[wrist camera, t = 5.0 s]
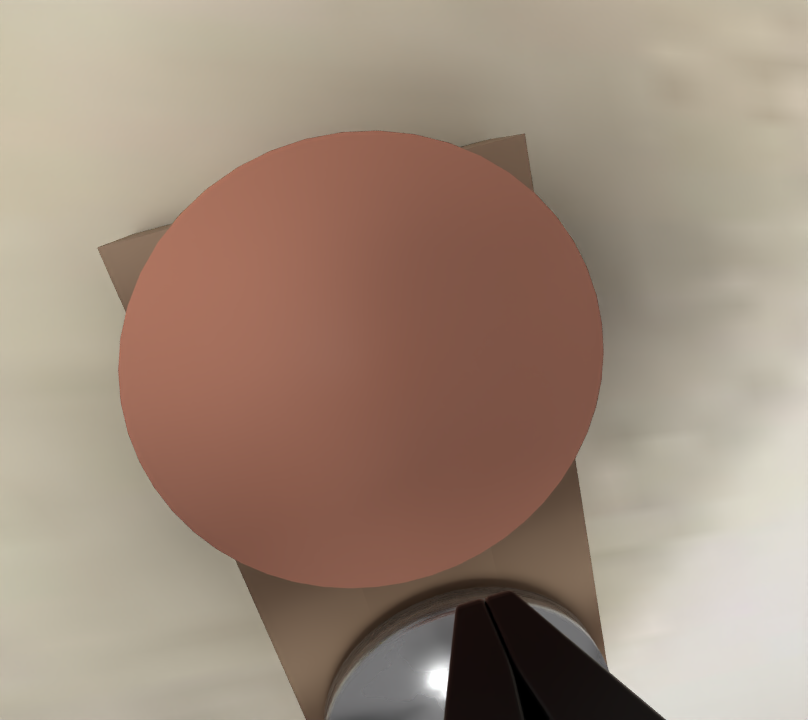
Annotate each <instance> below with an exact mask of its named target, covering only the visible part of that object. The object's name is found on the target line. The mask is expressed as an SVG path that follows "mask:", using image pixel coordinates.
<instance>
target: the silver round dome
mask: <svg viewBox="0 0 808 720" xmlns="http://www.w3.org/2000/svg"><path fill="white" fill-rule="evenodd" d="M508 590H509V591H513V592H514V593H515V594H517V595H518V596H519V597H520V598H522V599H523V600H524V601H525V602H526V603H527V604H529V605H530V606H531V607H532V608H533V609H535V610H536V611H537V612H538V613H539V614H541V615H542V616H543V617H544V618H545V619H547V620H548V621H549V622H550V623H551V624H552V625H554V626H555V627H556V628H557V629H558V630H560V631H561V632H562V633H563V634H564V635H566V636H567V637H568V638H569V639H570V640H572V641H573V642H574V643H575V644H576V645H577V646H579V647H580V648H581V649H582V650H583V651H585V652H586V653H587V654H588V655H589V656H591V657H592V658H593V659H594V660H595V661H597V662H598V663H599V664H600V665H601V666H602V667H604V668H605V669H606V670H607V671H608V672H609V670H608V667H607V665H606V662H605V660H604V658H603V656H602V654H601V652H600V651H599V649H598V648H597V646H596V644H595V643H594V641H593V639H592V638H591V636H590V634H589V633H588V631H587V630H586V629H585V627H584V626H583V624H582V623H581V621H580V620H579V619H578V618H577V617H576V616H575V615H574V614H573V613H572V612H571V611H569V610H568V609H566V608H565V607H563V606H562V605H561V604H559V603H558V602H556V601H554V600H552V599H549V598H547V597H545V596H543V595H540V594H537V593H534V592H531V591H527V590H521V589H516V588H509V587H475V588H468V589H462V590H456V591H452V592H448V593H445V594H441V595H437V596H434V597H431V598H429V599H426V600H424V601H421V602H419V603H416V604H414V605H412V606H410V607H408V608H406V609H404V610H402V611H400V612H398V613H397V614H395V615H394V616H392V617H391V618H389V619H388V620H386V621H385V622H383V623H382V624H380V625H379V626H378V627H377V628H375V629H374V630H373V631H372V632H370V633H369V634H368V635H367V636H366V637H365V638H364V639H363V640H362V641H361V642H360V643H359V644H358V645H357V646H356V647H355V648H354V649H353V650H352V652H351V653H350V654H349V656H348V657H347V658H346V660H345V661H344V662H343V664H342V665H341V667H340V669H339V671H338V672H337V674H336V676H335V678H334V680H333V682H332V685H331V687H330V690H329V692H328V696H327V701H326V705H325V716H324V720H444V711H445V701H446V692H447V683H448V673H449V664H450V655H451V646H452V636H453V627H454V618H455V610H456V607H457V606H458V605H460V604H463V603H467V602H470V601H473V600H477V599H482V600H483V601H484V602H485V599H486V598H487V597H488V596H490V595H494V594H497V593H500V592H504V591H508Z"/></svg>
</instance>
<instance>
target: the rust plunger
mask: <svg viewBox="0 0 808 720" xmlns="http://www.w3.org/2000/svg"><path fill="white" fill-rule="evenodd" d="M602 365H603V334H602V322H601V316H600V311H599V306H598V301H597V296H596V293H595V290H594V287H593V284H592V281H591V278H590V275H589V272H588V269H587V267H586V265H585V263H584V261H583V259H582V257H581V255H580V253H579V251H578V249H577V247H576V245H575V243H574V241H573V240H572V238H571V237H570V235H569V234H568V232H567V231H566V229H565V228H564V227H563V225H562V224H561V222H560V221H559V219H558V218H557V217H556V215H555V214H554V213H553V212H552V211H551V210H550V209H549V208H548V207H547V206H546V205H545V204H544V202H543V201H542V200H541V199H540V198H539V197H538V196H537V195H536V194H535V193H534V192H533V191H532V190H530V189H529V188H528V187H527V186H525V185H524V184H523V183H522V182H520V181H519V180H518V179H517V178H515V177H514V176H513V175H512V174H510V173H509V172H507V171H506V170H504V169H502V168H500V167H499V166H497V165H495V164H494V163H492V162H490V161H489V160H487V159H485V158H483V157H482V156H480V155H477V154H475V153H472V152H470V151H468V150H465V149H463V148H460V147H458V146H455V145H453V144H450V143H447V142H443V141H439V140H435V139H431V138H427V137H423V136H419V135H415V134H406V133H396V132H386V131H360V132H341V133H335V134H330V135H325V136H319V137H314V138H308V139H304V140H301V141H298V142H295V143H292V144H289V145H286V146H283V147H280V148H278V149H275V150H272V151H269V152H267V153H265V154H263V155H261V156H259V157H257V158H255V159H253V160H251V161H249V162H247V163H245V164H243V165H241V166H240V167H238V168H236V169H235V170H233V171H232V172H230V173H229V174H227V175H226V176H225V177H223V178H222V179H220V180H219V181H217V182H216V183H215V184H213V185H212V186H210V187H209V188H207V189H206V190H205V191H204V192H203V193H202V194H201V195H200V196H199V197H198V198H197V199H196V200H195V201H194V202H192V203H191V204H190V205H189V206H188V207H187V208H186V209H185V210H184V211H183V212H182V213H181V214H180V215H179V216H178V217H177V219H176V220H175V221H174V223H173V224H172V225H171V226H170V228H169V229H168V230H167V231H166V233H165V234H164V235H163V236H162V238H161V239H160V240H159V242H158V243H157V245H156V247H155V248H154V250H153V252H152V253H151V255H150V257H149V259H148V260H147V262H146V264H145V266H144V267H143V269H142V271H141V273H140V275H139V278H138V280H137V283H136V285H135V288H134V291H133V293H132V296H131V298H130V301H129V303H128V307H127V311H126V316H125V320H124V325H123V329H122V334H121V339H120V353H119V368H118V373H119V385H120V398H121V405H122V409H123V413H124V418H125V422H126V426H127V431H128V434H129V437H130V439H131V442H132V444H133V447H134V449H135V452H136V454H137V457H138V459H139V462H140V463H141V465H142V467H143V469H144V470H145V472H146V474H147V476H148V477H149V479H150V481H151V483H152V484H153V486H154V488H155V489H156V490H157V492H158V493H159V494H160V496H161V497H162V498H163V499H164V501H165V502H166V503H167V505H168V506H169V507H170V508H171V510H172V511H173V512H174V513H175V514H176V515H177V516H178V517H179V518H180V519H181V520H182V521H183V522H184V523H185V524H186V525H187V526H188V527H189V528H190V529H191V530H192V531H193V532H195V533H196V534H197V535H199V536H200V537H201V538H203V539H204V540H205V541H207V542H208V543H209V544H211V545H212V546H213V547H215V548H216V549H217V550H219V551H221V552H223V553H224V554H226V555H228V556H230V557H231V558H233V559H235V560H237V561H238V562H240V563H242V564H244V565H247V566H249V567H252V568H254V569H256V570H259V571H261V572H263V573H266V574H269V575H272V576H275V577H279V578H282V579H286V580H289V581H293V582H297V583H303V584H309V585H315V586H321V587H335V588H366V587H380V586H387V585H393V584H399V583H405V582H409V581H413V580H416V579H420V578H424V577H428V576H431V575H434V574H437V573H439V572H442V571H444V570H447V569H450V568H452V567H455V566H457V565H459V564H461V563H463V562H465V561H467V560H469V559H471V558H473V557H475V556H477V555H479V554H481V553H482V552H484V551H485V550H487V549H489V548H490V547H492V546H493V545H495V544H496V543H498V542H499V541H501V540H502V539H504V538H505V537H506V536H508V535H509V534H510V533H511V532H513V531H514V530H515V529H516V528H517V527H519V526H520V525H521V524H522V523H524V522H525V521H526V520H527V519H528V518H529V517H530V516H531V515H532V514H533V513H534V512H535V511H536V510H537V509H538V508H539V507H540V506H541V505H542V504H543V503H544V502H545V500H546V499H547V498H548V497H549V495H550V494H551V493H552V492H553V490H554V489H555V488H556V486H557V485H558V484H559V483H560V481H561V480H562V478H563V477H564V475H565V474H566V472H567V470H568V469H569V467H570V466H571V464H572V462H573V461H574V459H575V458H576V455H577V453H578V451H579V449H580V447H581V445H582V443H583V441H584V439H585V436H586V434H587V432H588V429H589V426H590V423H591V420H592V417H593V414H594V411H595V408H596V404H597V399H598V394H599V389H600V384H601V379H602Z"/></svg>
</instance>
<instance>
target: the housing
mask: <svg viewBox="0 0 808 720" xmlns="http://www.w3.org/2000/svg"><path fill="white" fill-rule="evenodd" d="M460 148H463V149H465V150H468V151H470V152H472V153H475V154H477V155H480V156H482V157H483V158H485V159H487V160H489V161H490V162H492V163H494V164H495V165H497V166H499V167H500V168H502V169H504V170H506V171H507V172H509V173H510V174H512V175H513V176H514V177H515V178H517V179H518V180H519V181H520V182H522V183H523V184H524V185H525V186H527V187H528V188H529V189H530V190H532V191H533V192H534V190H533V184H532V177H531V171H530V165H529V158H528V152H527V145H526V139H525V134H520V135H514V136H507V137H501V138H495V139H489V140H485V141H481V142H478V143H474V144H470V145H466V146H463V147H460ZM171 225H172V224H170V225H166V226H162V227H158V228H155V229H151V230H147V231H143V232H140V233H136V234H132V235H130V236H127V237H124V238H122V239H119V240H116V241H114V242H111V243H108V244H106V245H103V246H101V247H98V250H99V253H100V255H101V257H102V259H103V262H104V264H105V266H106V269H107V271H108V273H109V275H110V278H111V280H112V282H113V284H114V287H115V289H116V291H117V293H118V296H119V298H120V300H121V302H122V305H123V307H124V309H125V311H127V307H128V303H129V301H130V298H131V296H132V293H133V291H134V288H135V285H136V283H137V280H138V278H139V275H140V273H141V271H142V269H143V267H144V266H145V264H146V262H147V260H148V259H149V257H150V255H151V253H152V252H153V250H154V248H155V247H156V245H157V243H158V242H159V240H160V239H161V238H162V236H163V235H164V234H165V233H166V231H167V230H168V229H169V228H170V226H171ZM236 562H237V565H238V567H239V569H240V571H241V574H242V576H243V578H244V580H245V583H246V585H247V587H248V589H249V592H250V594H251V596H252V598H253V601H254V603H255V605H256V607H257V610H258V612H259V614H260V617H261V619H262V621H263V623H264V626H265V628H266V630H267V632H268V635H269V637H270V639H271V641H272V644H273V646H274V648H275V650H276V653H277V655H278V657H279V659H280V662H281V664H282V666H283V668H284V671H285V673H286V675H287V678H288V680H289V682H290V684H291V687H292V689H293V691H294V693H295V696H296V698H297V700H298V702H299V705H300V707H301V709H302V711H303V714H304V716H305V718H306V720H324V716H325V705H326V701H327V696H328V692H329V690H330V687H331V685H332V682H333V680H334V678H335V676H336V674H337V672H338V671H339V669H340V667H341V665H342V664H343V662H344V661H345V660H346V658H347V657H348V656H349V654H350V653H351V652H352V650H353V649H354V648H355V647H356V646H357V645H358V644H359V643H360V642H361V641H362V640H363V639H364V638H365V637H366V636H367V635H368V634H369V633H370V632H372V631H373V630H374V629H375V628H377V627H378V626H379V625H380V624H382V623H383V622H385V621H386V620H388V619H389V618H391V617H392V616H394V615H395V614H397V613H398V612H400V611H402V610H404V609H406V608H408V607H410V606H412V605H414V604H416V603H419V602H421V601H424V600H426V599H429V598H431V597H434V596H437V595H441V594H445V593H448V592H452V591H456V590H462V589H468V588H475V587H509V588H516V589H521V590H527V591H531V592H534V593H537V594H540V595H543V596H545V597H547V598H549V599H552V600H554V601H556V602H558V603H559V604H561V605H562V606H563V607H565V608H566V609H568V610H569V611H571V612H572V613H573V614H574V615H575V616H576V617H577V618H578V619H579V620H580V621H581V623H582V624H583V626H584V627H585V629H586V630H587V631H588V633H589V634H590V636H591V638H592V639H593V641H594V643H595V644H596V646H597V648H598V649H599V651H600V652H601V654H602V656H603V658H604V660H605V662H606V665H607V661H606V655H605V648H604V642H603V635H602V629H601V622H600V616H599V610H598V603H597V597H596V590H595V584H594V577H593V571H592V564H591V558H590V552H589V545H588V539H587V532H586V526H585V519H584V513H583V506H582V500H581V493H580V487H579V481H578V474H577V468H576V461H575V459H574V461H573V462H572V464H571V466H570V467H569V469H568V470H567V472H566V474H565V475H564V477H563V478H562V480H561V481H560V483H559V484H558V485H557V486H556V488H555V489H554V490H553V492H552V493H551V494H550V495H549V497H548V498H547V499H546V500H545V502H544V503H543V504H542V505H541V506H540V507H539V508H538V509H537V510H536V511H535V512H534V513H533V514H532V515H531V516H530V517H529V518H528V519H527V520H526V521H525V522H524V523H522V524H521V525H520V526H519V527H517V528H516V529H515V530H514V531H513V532H511V533H510V534H509V535H508V536H506V537H505V538H504V539H502V540H501V541H499V542H498V543H496V544H495V545H493V546H492V547H490V548H489V549H487V550H485V551H484V552H482V553H481V554H479V555H477V556H475V557H473V558H471V559H469V560H467V561H465V562H463V563H461V564H459V565H457V566H455V567H452V568H450V569H447V570H444V571H442V572H439V573H437V574H434V575H431V576H428V577H424V578H420V579H416V580H413V581H409V582H405V583H399V584H393V585H387V586H380V587H366V588H335V587H321V586H315V585H309V584H303V583H297V582H293V581H289V580H286V579H282V578H279V577H275V576H272V575H269V574H266V573H263V572H261V571H259V570H256V569H254V568H252V567H249V566H247V565H244V564H242V563H240V562H238V561H237V560H236Z"/></svg>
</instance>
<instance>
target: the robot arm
mask: <svg viewBox="0 0 808 720" xmlns="http://www.w3.org/2000/svg"><path fill="white" fill-rule="evenodd" d="M444 720H666V719H664V718H663V717H662V716H661V715H660V714H658V713H657V712H656V711H655V710H654V709H653V708H651V707H650V706H649V705H648V704H647V703H645V702H644V701H643V700H642V699H641V698H639V697H638V696H637V695H636V694H635V693H633V692H632V691H631V690H630V689H629V688H628V687H626V686H625V685H624V684H623V683H622V682H620V681H619V680H618V679H617V678H616V677H614V676H613V675H612V674H611V673H610V672H608V671H607V670H606V669H605V668H604V667H602V666H601V665H600V664H599V663H598V662H597V661H595V660H594V659H593V658H592V657H591V656H589V655H588V654H587V653H586V652H585V651H583V650H582V649H581V648H580V647H579V646H577V645H576V644H575V643H574V642H573V641H572V640H570V639H569V638H568V637H567V636H566V635H564V634H563V633H562V632H561V631H560V630H558V629H557V628H556V627H555V626H554V625H552V624H551V623H550V622H549V621H548V620H547V619H545V618H544V617H543V616H542V615H541V614H539V613H538V612H537V611H536V610H535V609H533V608H532V607H531V606H530V605H529V604H527V603H526V602H525V601H524V600H523V599H522V598H520V597H519V596H518V595H517V594H515V593H514V592H513V591H509V590H508V591H504V592H500V593H497V594H494V595H490V596H488V597H487V598H486V599H485V602H484V601H483V600H482V599H477V600H473V601H470V602H467V603H463V604H460V605H458V606H457V607H456V610H455V618H454V627H453V636H452V646H451V655H450V664H449V673H448V683H447V692H446V701H445V711H444Z"/></svg>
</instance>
